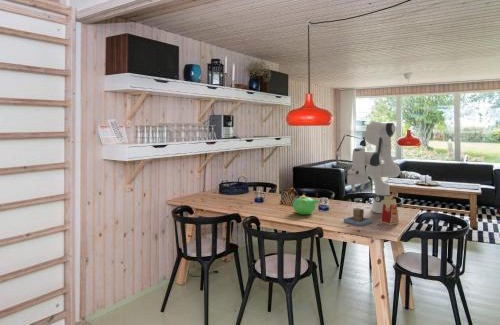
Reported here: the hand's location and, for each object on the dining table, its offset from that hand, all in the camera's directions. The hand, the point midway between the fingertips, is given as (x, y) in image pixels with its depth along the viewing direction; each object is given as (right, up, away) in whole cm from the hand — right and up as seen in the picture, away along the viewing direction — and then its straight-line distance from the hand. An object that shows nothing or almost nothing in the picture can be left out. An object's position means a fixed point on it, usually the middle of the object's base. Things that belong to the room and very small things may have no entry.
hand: (357, 190), depth 258 cm
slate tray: (0, -23, 0) cm, 23 cm away
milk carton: (+22, -23, -1) cm, 32 cm away
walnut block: (0, -23, 0) cm, 23 cm away
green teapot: (-34, -21, +25) cm, 48 cm away
